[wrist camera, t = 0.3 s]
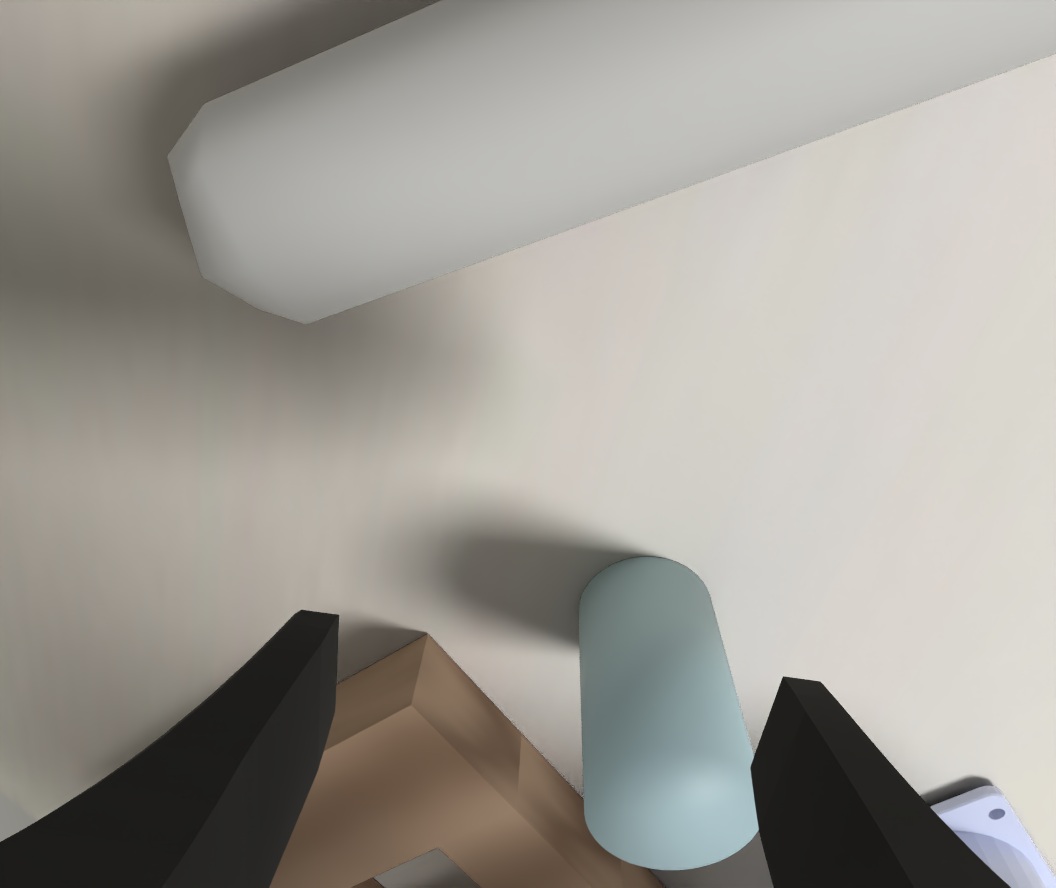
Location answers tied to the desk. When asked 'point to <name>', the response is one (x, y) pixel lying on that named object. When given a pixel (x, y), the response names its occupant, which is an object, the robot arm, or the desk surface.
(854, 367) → the desk surface
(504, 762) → the socket board
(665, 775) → the peg
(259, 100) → the tube
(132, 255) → the desk surface
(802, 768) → the robot arm
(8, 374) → the desk surface
